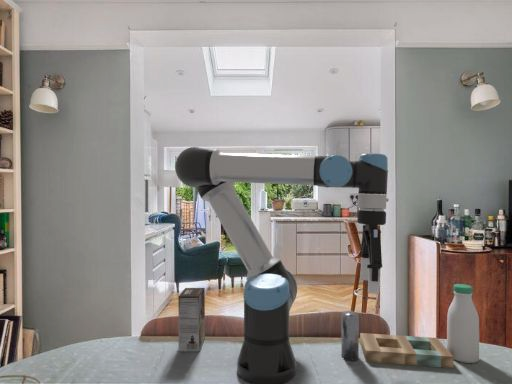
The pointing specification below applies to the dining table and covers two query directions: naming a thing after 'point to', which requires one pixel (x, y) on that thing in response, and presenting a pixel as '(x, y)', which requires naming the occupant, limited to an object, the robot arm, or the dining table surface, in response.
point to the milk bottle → (463, 326)
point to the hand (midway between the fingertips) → (369, 286)
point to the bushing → (350, 335)
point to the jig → (405, 350)
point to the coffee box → (191, 319)
